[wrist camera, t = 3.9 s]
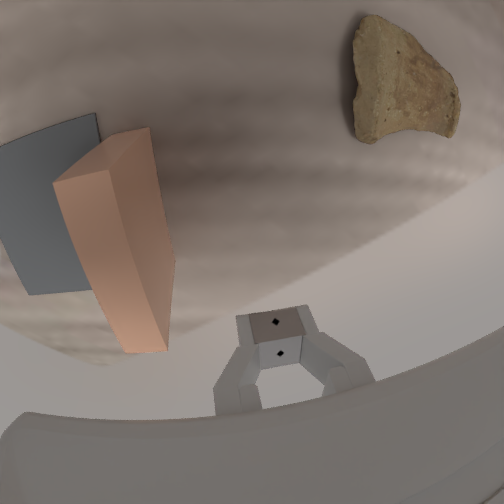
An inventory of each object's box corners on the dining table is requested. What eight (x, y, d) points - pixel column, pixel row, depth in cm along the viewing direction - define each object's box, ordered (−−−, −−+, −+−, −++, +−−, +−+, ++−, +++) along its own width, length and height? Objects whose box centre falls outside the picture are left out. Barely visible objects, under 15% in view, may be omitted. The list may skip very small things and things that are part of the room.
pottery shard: (344, 139, 23) (445, 150, 22) (355, 149, 19) (468, 163, 18) (343, 19, 17) (448, 41, 16) (353, 7, 14) (473, 37, 13)
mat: (95, 112, 18) (94, 113, 18) (139, 283, 27) (139, 284, 27) (-26, 158, 17) (-27, 159, 16) (29, 293, 26) (29, 295, 25)
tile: (149, 126, 19) (108, 169, 11) (175, 260, 26) (167, 351, 18) (110, 134, 19) (50, 183, 11) (142, 264, 26) (123, 353, 18)
